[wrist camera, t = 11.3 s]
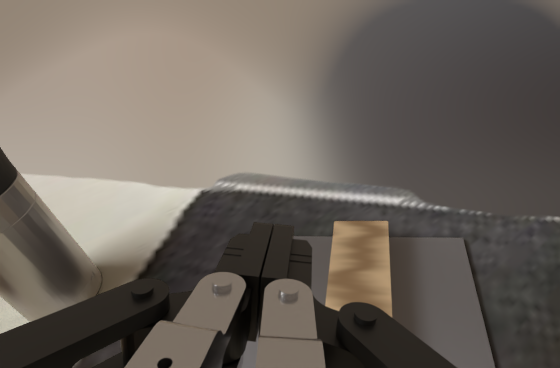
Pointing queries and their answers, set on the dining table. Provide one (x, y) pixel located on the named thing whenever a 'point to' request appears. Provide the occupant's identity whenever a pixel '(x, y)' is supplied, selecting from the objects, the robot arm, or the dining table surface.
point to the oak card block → (360, 265)
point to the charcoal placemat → (420, 296)
